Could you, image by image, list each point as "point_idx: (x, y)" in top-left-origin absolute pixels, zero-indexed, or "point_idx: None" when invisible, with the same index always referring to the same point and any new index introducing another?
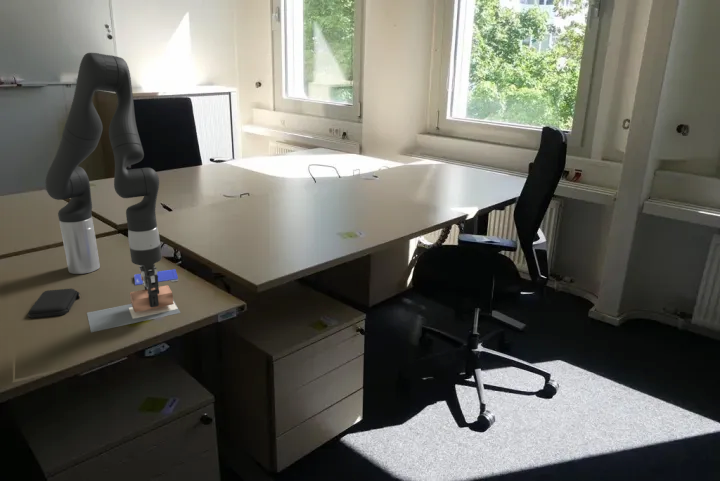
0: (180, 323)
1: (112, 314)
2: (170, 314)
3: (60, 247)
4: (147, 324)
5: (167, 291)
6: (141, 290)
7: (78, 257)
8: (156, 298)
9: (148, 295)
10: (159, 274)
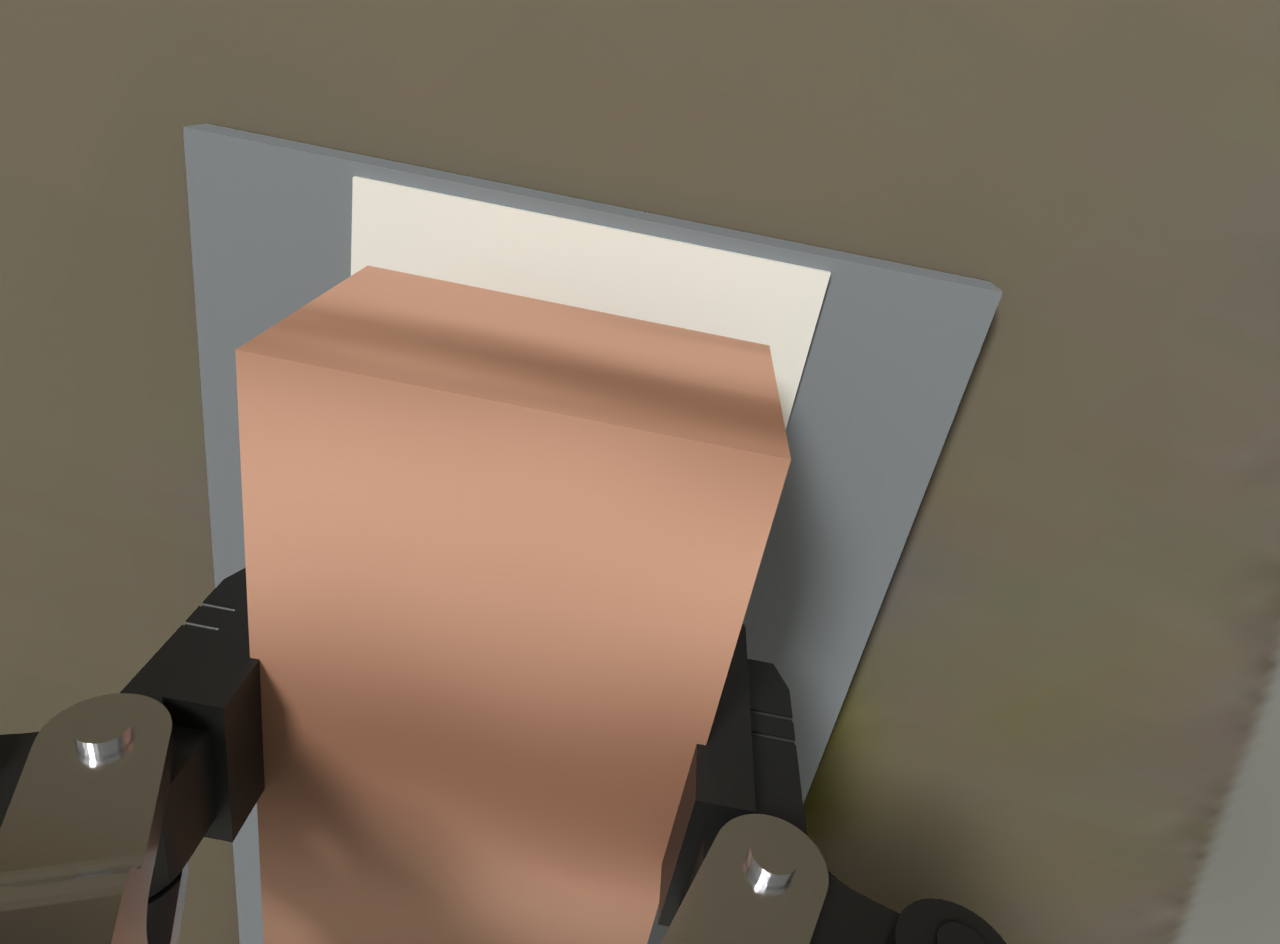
0: (1258, 414)
1: None
2: (926, 449)
3: None
4: (888, 723)
5: (645, 520)
6: (271, 838)
7: None
8: (799, 779)
9: (673, 905)
10: None
